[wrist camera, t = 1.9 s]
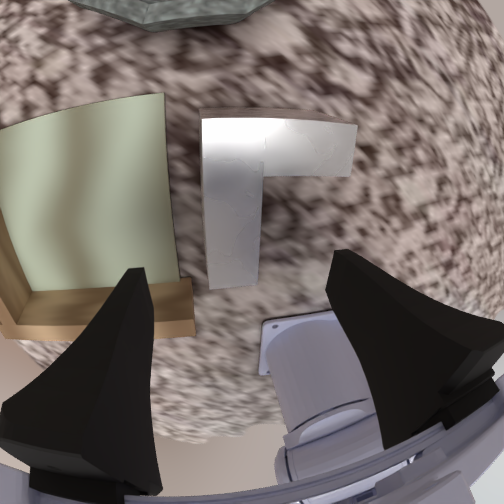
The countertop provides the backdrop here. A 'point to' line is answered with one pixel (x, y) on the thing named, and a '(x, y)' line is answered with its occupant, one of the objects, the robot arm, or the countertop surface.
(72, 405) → the robot arm
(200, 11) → the mortar and pestle
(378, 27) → the countertop surface
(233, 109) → the bracket
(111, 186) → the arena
